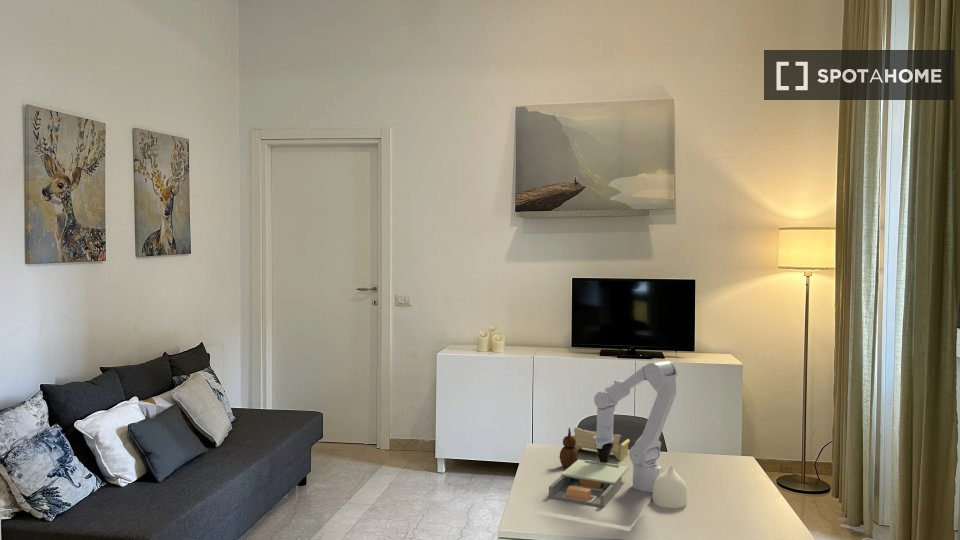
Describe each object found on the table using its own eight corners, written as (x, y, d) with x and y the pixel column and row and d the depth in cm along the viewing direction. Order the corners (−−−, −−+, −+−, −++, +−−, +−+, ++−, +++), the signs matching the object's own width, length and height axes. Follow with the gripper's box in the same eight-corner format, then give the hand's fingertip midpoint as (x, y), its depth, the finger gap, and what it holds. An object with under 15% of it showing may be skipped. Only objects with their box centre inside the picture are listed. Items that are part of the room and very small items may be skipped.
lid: (628, 468, 262) (628, 465, 262) (614, 484, 245) (614, 480, 245) (578, 461, 270) (578, 457, 269) (561, 475, 253) (561, 472, 253)
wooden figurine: (570, 470, 273) (572, 429, 273) (556, 467, 277) (558, 426, 276) (580, 466, 279) (581, 426, 278) (566, 463, 282) (567, 423, 282)
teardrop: (662, 509, 237) (664, 471, 237) (645, 497, 248) (647, 460, 247) (694, 506, 240) (695, 469, 239) (676, 495, 251) (677, 459, 250)
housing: (621, 490, 254) (621, 476, 253) (603, 510, 234) (604, 495, 234) (569, 481, 261) (569, 468, 261) (548, 500, 242) (548, 486, 242)
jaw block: (590, 499, 242) (591, 489, 241) (587, 502, 239) (588, 492, 239) (569, 495, 245) (570, 485, 244) (566, 498, 242) (566, 488, 242)
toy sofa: (629, 456, 294) (630, 430, 293) (622, 462, 286) (623, 435, 286) (579, 448, 304) (580, 422, 304) (570, 453, 297) (571, 427, 296)
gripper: (599, 419, 274) (598, 457, 275) (587, 428, 261) (586, 467, 262) (619, 422, 271) (617, 460, 272) (607, 431, 258) (606, 470, 259)
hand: (603, 464), depth 266 cm, fingers closed
